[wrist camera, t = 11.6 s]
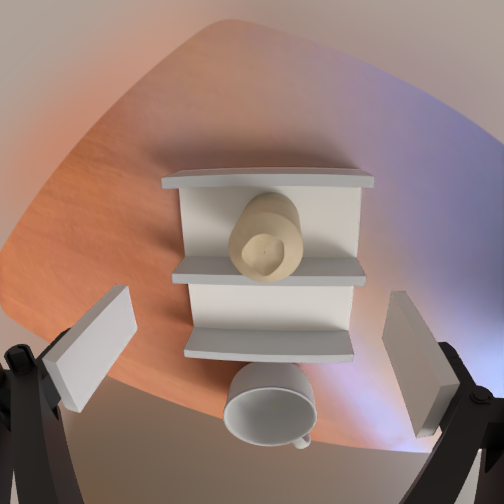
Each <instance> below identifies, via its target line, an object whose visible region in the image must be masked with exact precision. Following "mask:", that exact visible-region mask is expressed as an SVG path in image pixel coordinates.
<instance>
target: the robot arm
mask: <svg viewBox="0 0 504 504" xmlns="http://www.w3.org/2000/svg"><path fill="white" fill-rule="evenodd" d="M136 331H137V325H136V321H135V317H134V312H133V308H132V303H131V299H130V294H129V289H128V285H117V284H115V285H114V286H113V287H112V288H111V289H110V290H109V291H108V292H107V293H106V294H105V295H104V296H103V297H102V298H101V299H100V300H99V301H98V302H97V303H96V304H95V305H94V306H93V307H92V308H91V309H90V310H89V311H88V312H87V313H86V314H85V315H84V316H83V317H82V318H81V319H80V320H79V321H78V322H77V323H76V324H75V325H74V326H73V327H72V328H69V329H67V330H65V331H63V332H62V333H61V334H60V335H59V336H58V337H57V338H56V339H55V340H54V341H53V342H52V343H51V344H50V345H49V346H48V347H47V348H46V349H45V350H44V351H43V352H42V353H41V354H40V355H39V356H38V357H37V359H35V358H34V356H33V353H32V351H31V349H30V347H29V346H28V345H26V344H18V345H15V346H13V347H11V348H10V349H9V350H7V351H6V353H5V355H4V358H5V360H6V362H7V364H8V366H9V368H10V370H4V369H3V367H2V365H1V363H0V504H10V499H11V488H12V479H13V471H14V474H15V482H16V489H17V495H18V501H19V504H84V501H83V498H82V495H81V492H80V489H79V486H78V483H77V479H76V476H75V472H74V469H73V465H72V462H71V458H70V454H69V450H68V445H67V441H66V437H65V432H64V427H63V423H62V417H61V412H60V409H59V406H58V405H57V404H58V403H59V401H60V400H61V399H62V401H63V403H64V405H65V407H66V408H67V409H69V410H72V411H75V412H78V413H80V412H81V411H82V409H83V408H84V406H85V405H86V403H87V402H88V400H89V398H90V397H91V396H92V394H93V393H94V391H95V390H96V388H97V387H98V385H99V384H100V382H101V381H102V379H103V378H104V376H105V375H106V374H107V372H108V371H109V369H110V368H111V366H112V365H113V364H114V362H115V361H116V359H117V358H118V356H119V355H120V354H121V352H122V351H123V349H124V348H125V346H126V345H127V344H128V342H129V341H130V339H131V338H132V337H133V335H134V334H135V332H136ZM382 340H383V342H384V345H385V348H386V350H387V353H388V356H389V358H390V361H391V364H392V367H393V369H394V372H395V375H396V378H397V381H398V384H399V386H400V389H401V392H402V395H403V398H404V401H405V404H406V407H407V410H408V414H409V417H410V420H411V423H412V426H413V429H414V433H415V436H416V438H419V437H425V436H431V435H434V434H435V432H436V430H437V428H438V426H440V428H441V431H442V434H441V436H440V437H439V439H438V441H437V442H436V444H435V446H434V447H433V450H432V452H431V454H430V456H429V458H428V459H427V461H426V463H425V464H424V466H423V468H422V469H421V471H420V472H419V474H418V476H417V477H416V479H415V480H414V482H413V483H412V485H411V487H410V488H409V490H408V491H407V492H406V494H405V495H404V497H403V499H402V500H401V501H400V503H399V504H454V503H455V501H456V499H457V497H458V495H459V493H460V491H461V489H462V487H463V485H464V483H465V480H466V478H467V476H468V474H469V472H470V469H471V467H472V464H473V462H474V460H475V457H476V455H477V452H478V450H479V449H482V453H481V462H480V470H479V477H478V484H477V490H476V495H475V501H474V504H504V398H495V397H494V396H493V394H492V393H491V392H490V391H489V390H488V389H487V388H485V387H483V386H478V385H476V384H475V382H474V380H473V379H472V377H471V375H470V373H469V372H468V370H467V368H466V367H465V365H464V364H463V362H462V360H461V358H459V355H458V354H457V352H456V350H455V349H454V348H453V347H452V346H451V345H449V344H448V343H447V342H438V343H437V341H436V339H435V338H434V336H433V334H432V333H431V331H430V329H429V328H428V326H427V324H426V323H425V321H424V320H423V318H422V316H421V315H420V313H419V312H418V310H417V308H416V307H415V305H414V304H413V302H412V301H411V299H410V297H409V296H408V294H407V293H406V291H391V295H390V301H389V306H388V311H387V317H386V322H385V326H384V331H383V336H382Z"/></svg>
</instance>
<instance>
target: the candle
mask: <svg viewBox="0 0 504 504" xmlns="http://www.w3.org/2000/svg"><path fill="white" fill-rule="evenodd" d="M228 249H229V255H230V258H231V261H232V263H233V264H234V266H235V267H236V269H237V270H238V271H239V272H240V273H241V274H243V275H244V276H246V277H247V278H249V279H251V280H254V281H258V282H264V283H269V282H276V281H279V280H282V279H284V278H286V277H288V276H289V275H290V274H292V273H293V272H294V271H295V269H296V268H297V267H298V265H299V263H300V261H301V259H302V256H303V239H302V232H301V225H300V219H299V214H298V211H297V208H296V206H295V205H294V203H293V202H292V201H291V200H290V199H289V198H287V197H286V196H284V195H282V194H279V193H275V192H267V193H262V194H259V195H257V196H256V197H254V198H253V199H252V200H251V201H250V202H249V203H248V204H247V206H246V207H245V209H244V211H243V212H242V214H241V216H240V218H239V220H238V221H237V223H236V225H235V227H234V228H233V230H232V232H231V235H230V238H229V244H228Z"/></svg>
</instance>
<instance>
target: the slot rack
mask: <svg viewBox="0 0 504 504" xmlns="http://www.w3.org/2000/svg"><path fill="white" fill-rule="evenodd" d="M374 177H375V176H373V175H371V174H369V173H367V172H365V171H363V170H360V169H348V168H315V167H249V168H216V169H194V170H181V171H178V172H175V173H173V174H170V175H167V176H165V177H162V178H161V180H162V189H174V188H179V196H180V208H181V219H182V230H183V241H184V250H185V257H184V258H183V260H182V261H181V262H180V263H179V265H178V266H177V267H176V269H175V270H174V271H173V272H172V281H173V283H181V284H188V285H189V294H190V301H191V309H192V316H193V324H194V328H193V330H192V333H191V335H190V337H189V339H188V341H187V344H186V346H185V348H184V354H185V357H191V358H203V359H217V360H232V361H252V362H287V363H326V362H353V359H354V352H353V348H352V344H351V340H350V336H349V332H348V327H349V320H350V313H351V306H352V298H353V290H354V286H365V284H366V274H365V273H364V271H363V269H362V267H361V265H360V263H359V261H358V259H357V251H358V239H359V226H360V210H361V191H362V188H374ZM267 192H275V193H279V194H282V195H284V196H286V197H287V198H289V199H290V200H291V201H292V202H293V203H294V205H295V206H296V208H297V211H298V214H299V219H300V225H301V232H302V239H303V256H302V259H301V261H300V263H299V265H298V267H297V268H296V269H295V271H294V272H293V273H292V274H290V275H289V276H288V277H286V278H284V279H282V280H279V281H276V282H269V283H264V282H258V281H254V280H251V279H249V278H247V277H246V276H244V275H243V274H241V273H240V272H239V271H238V270H237V269H236V267H235V266H234V264H233V263H232V261H231V258H230V255H229V249H228V244H229V238H230V235H231V232H232V230H233V228H234V227H235V225H236V223H237V221H238V220H239V218H240V216H241V214H242V212H243V211H244V209H245V207H246V206H247V204H248V203H249V202H250V201H251V200H252V199H253V198H254V197H256V196H257V195H259V194H262V193H267Z"/></svg>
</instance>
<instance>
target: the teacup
mask: <svg viewBox="0 0 504 504" xmlns="http://www.w3.org/2000/svg"><path fill="white" fill-rule="evenodd" d="M223 420H224V423H225V425H226V427H227V429H228V430H229V431H230V432H231V433H232V434H233V435H235V436H236V437H237V438H239V439H241V440H243V441H245V442H248V443H251V444H256V445H261V446H278V445H283V444H288V443H291V442H292V443H293V445H294V446H295V447H296V448H299V449H302V448H305V447H307V446H308V445H309V444H310V442H311V437H310V431H311V430H312V428H313V427H314V425H315V423H316V420H317V410H316V407H315V402H314V396H313V391H312V387H311V383H310V381H309V379H308V377H307V375H306V374H305V373H304V371H303V370H302V369H300V368H299V367H298V366H296V365H295V364H293V363H287V362H251V363H249V364H247V365H246V366H244V367H243V368H242V369H241V370H239V371H238V373H237V374H236V375H235V377H234V378H233V380H232V383H231V385H230V389H229V392H228V397H227V401H226V405H225V408H224V411H223Z"/></svg>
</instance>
